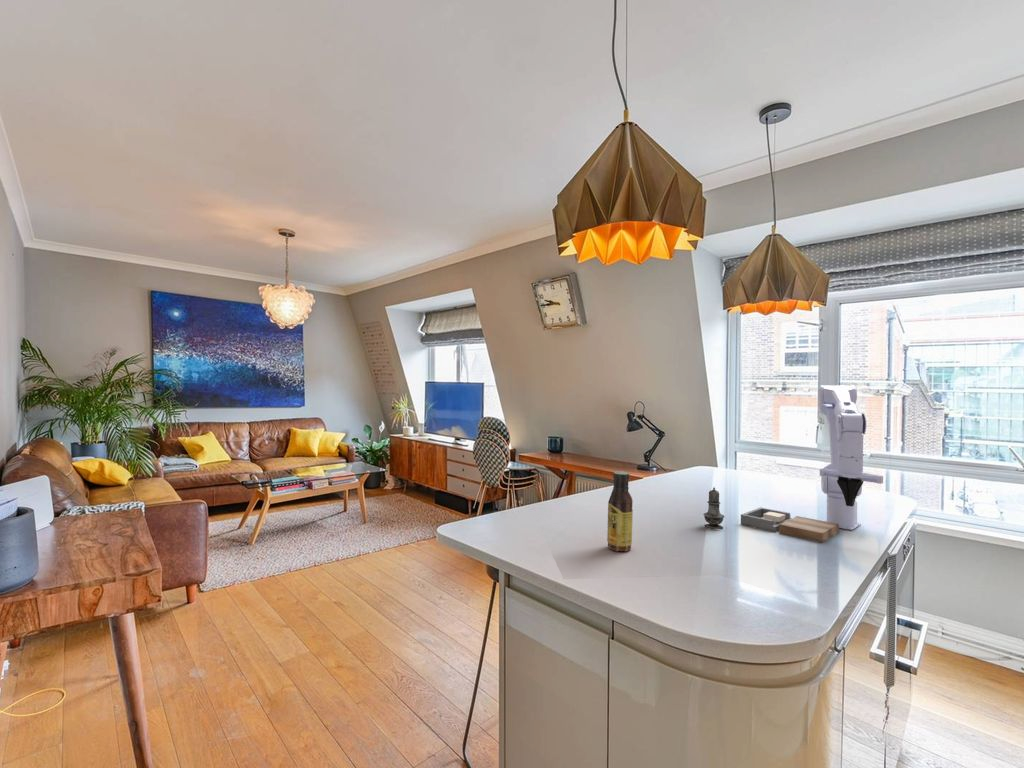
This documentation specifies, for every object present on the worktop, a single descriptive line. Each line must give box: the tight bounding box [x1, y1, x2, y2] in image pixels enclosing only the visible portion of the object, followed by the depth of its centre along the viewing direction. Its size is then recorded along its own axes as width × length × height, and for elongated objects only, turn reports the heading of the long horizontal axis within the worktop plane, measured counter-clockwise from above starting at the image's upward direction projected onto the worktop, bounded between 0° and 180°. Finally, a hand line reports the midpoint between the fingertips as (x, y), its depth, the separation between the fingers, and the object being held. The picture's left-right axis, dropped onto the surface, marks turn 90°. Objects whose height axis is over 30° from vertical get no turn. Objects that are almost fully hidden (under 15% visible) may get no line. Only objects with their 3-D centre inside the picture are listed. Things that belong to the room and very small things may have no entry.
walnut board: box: [778, 515, 840, 543], centre depth 142 cm, size 14×11×2 cm
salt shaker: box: [702, 487, 725, 530], centre depth 147 cm, size 6×6×12 cm
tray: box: [740, 507, 792, 533], centre depth 151 cm, size 14×10×3 cm
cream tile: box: [763, 512, 785, 522], centre depth 150 cm, size 4×4×2 cm
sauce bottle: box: [606, 470, 634, 553], centre depth 127 cm, size 6×6×20 cm
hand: (849, 505), depth 137 cm, fingers closed
